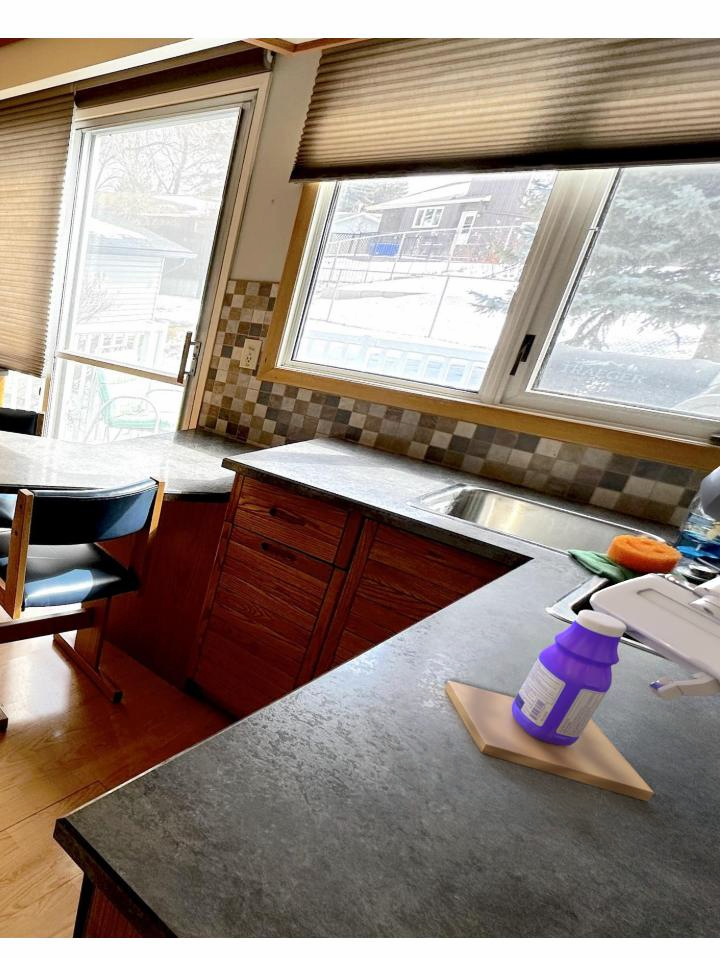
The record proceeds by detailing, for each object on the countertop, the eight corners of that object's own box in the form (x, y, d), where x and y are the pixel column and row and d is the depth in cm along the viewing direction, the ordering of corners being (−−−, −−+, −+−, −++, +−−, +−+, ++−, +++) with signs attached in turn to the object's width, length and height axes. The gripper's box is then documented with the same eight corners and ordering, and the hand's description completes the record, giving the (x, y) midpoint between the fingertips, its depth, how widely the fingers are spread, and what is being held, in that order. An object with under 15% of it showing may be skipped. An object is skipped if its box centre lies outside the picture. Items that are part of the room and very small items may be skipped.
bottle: (583, 756, 76) (654, 640, 70) (528, 742, 78) (592, 627, 72) (550, 718, 83) (612, 608, 77) (499, 705, 85) (556, 598, 78)
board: (584, 726, 84) (589, 717, 84) (648, 802, 72) (654, 792, 72) (444, 688, 90) (448, 680, 89) (481, 753, 78) (486, 744, 77)
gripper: (651, 552, 81) (539, 606, 85) (850, 644, 62) (693, 707, 66) (671, 585, 82) (559, 636, 87) (872, 685, 63) (716, 744, 68)
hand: (619, 668), depth 76 cm, fingers open, 8 cm apart
